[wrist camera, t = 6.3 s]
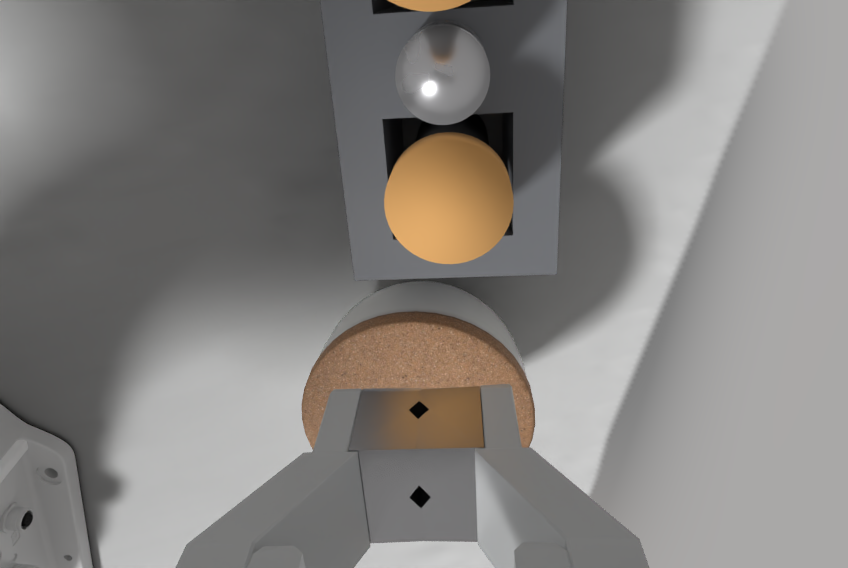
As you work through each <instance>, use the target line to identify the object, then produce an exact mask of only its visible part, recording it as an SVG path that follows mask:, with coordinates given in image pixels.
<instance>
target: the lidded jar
mask: <svg viewBox="0 0 848 568" xmlns="http://www.w3.org/2000/svg"><path fill="white" fill-rule="evenodd" d="M498 384H510V385H511V386H512V390H513V397H514V403H515V409H516V415H517V421H518V427H519V433H520V440H521V446H522V448H529V446H530V443H531V441H532V438H533V432H534V427H535V408H534V402H533V398H532V393H531V388H530V385H529V382H528V380H527V378H526V373H525V369H524V365H523V361H522V358H521V356H520V353H519V351H518V349H517V346H516V344H515V341H514V339H513V337H512V336H511V334H510V333H509V331H508V330H507V328H506V326H505V325H504V323H503V322H502V320H501V319H500V318H499V317H498V316H497V315H496V313H495V312H494V311H493V310H492V309H491V308H490V307H488V306H487V305H486V304H484V303H483V302H482V301H481V300H479V299H478V298H477V297H475V296H473V295H471V294H470V293H468V292H466V291H464V290H462V289H459V288H457V287H454V286H451V285H448V284H443V283H439V282H430V281H412V282H405V283H400V284H395V285H392V286H389V287H387V288H384V289H381V290H379V291H377V292H375V293H373V294H371V295H370V296H368V297H366V298H364V299H363V300H362V301H361V302H359V303H358V304H357V305H356V306H354V307H353V308H352V309H351V310H350V311H349V312H348V313H347V314H346V315H345V317H344V318H343V319H342V320H341V321H340V322H339V323H338V325H337V326H336V328H335V329H334V331H333V332H332V334H331V335H330V337H329V339H328V340H327V342H326V343H325V345H324V348H323V350H322V352H321V354H320V356H319V358H318V360H317V361H316V363H315V364H314V366H313V368H312V370H311V373H310V375H309V378H308V380H307V383H306V386H305V389H304V394H303V400H302V420H303V424H304V429H305V433H306V436H307V438H308V440H309V443H310V445H311V447H312V449H314V445H315V442H316V439H317V435H318V432H319V428H320V425H321V422H322V418H323V415H324V412H325V408H326V405H327V402H328V398H329V395H330V393H331V392H332V391H333V390H334V389H360V388H361V389H362V390H363V389H366V388H421V389H428V388H451V387H474V386H481V385H498Z"/></svg>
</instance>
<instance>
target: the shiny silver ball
mask: <svg viewBox="0 0 848 568" xmlns="http://www.w3.org/2000/svg"><path fill="white" fill-rule="evenodd" d="M395 81H396V87H397V91H398V94H399V96H400V98H401V100H402V102H403V104H404V105H405V106H406V108H407V109H408V110H409V111H410V112H411V113H412V114H413V115H415V116H416V117H417V118H419V119H421V120H423V121H425V122H427V123H431V124H436V125H449V124H454V123H457V122H460V121H462V120H464V119H466V118H468V117H469V116H470V115H472V114H473V113H474V112H475V111H476V110H477V109H478V108H479V107H480V105H481V104H482V102H483V101H484V99H485V97H486V94H487V92H488V88H489V83H490V67H489V62H488V59H487V55H486V52H485V49H484V47H483V44H482V42H481V40H480V39H479V37H478V36H477V35H476V33H475V32H474V31H473V30H472V29H470V28H469V27H468V26H466V25H464V24H462V23H460V22H457V21H453V20H437V21H434V22H431V23H429V24H427V25H425V26H423V27H422V28H421V29H419V30H418V31H417V32H416V33H415V34H414V35H413V37H412V38H411V39H410V40H409V41H408V42H407V43H406V45H405V46H404V48H403V49H402V51H401V53H400V55H399V58H398V60H397V65H396V71H395Z"/></svg>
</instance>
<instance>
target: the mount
mask: <svg viewBox="0 0 848 568" xmlns="http://www.w3.org/2000/svg"><path fill="white" fill-rule="evenodd" d="M320 5H321V13H322V21H323V29H324V37H325V46H326V54H327V62H328V70H329V78H330V86H331V94H332V102H333V110H334V118H335V127H336V135H337V143H338V151H339V159H340V167H341V175H342V183H343V191H344V199H345V208H346V216H347V224H348V232H349V240H350V248H351V256H352V264H353V272H354V280H355V281H361V280H393V279H425V278H458V277H490V276H522V275H554V274H557V256H558V230H559V203H560V176H561V149H562V123H563V96H564V69H565V43H566V16H567V0H471V1H469V2H467V3H465V4H463V5H460V6H458V7H455V8H451V9H448V10H442V11H435V12H426V11H416V10H411V9H407V8H404V7H401V6H398V5H396V4H394V3H392V2H390V1H388V0H320ZM437 20H453V21H457V22H460V23H462V24H464V25H466V26H468V27H469V28H470V29H472V30H473V31H474V32H475V33H476V35H477V36H478V37H479V39H480V40H481V42H482V44H483V47H484V49H485V52H486V55H487V59H488V62H489V67H490V83H489V88H488V92H487V94H486V97H485V99H484V101H483V102H482V104H481V105H480V107H479V108H478V109H477V110H476V111H475V112H474V113H473V114H478V115H479V116H480V118H481V119H482V120H483V122H484V124H485V127H486V130H487V135H488V141H489V146H490V147H491V148H492V149H493V150H494V151H495V152H496V153H497V154H498V156H499V157H500V158H501V160H502V161H503V163H504V165H505V167H506V169H507V172H508V175H509V178H510V183H511V187H512V192H513V200H514V205H513V214H512V218H511V221H510V224H509V227H508V229H507V230H506V232H505V234H504V236H503V237H502V238H501V240H500V241H499V242H498V243H497V244H496V245H495V246H494V247H493V248H492V249H491V250H490V251H488V252H487V253H485V254H484V255H482V256H480V257H478V258H476V259H474V260H471V261H468V262H464V263H459V264H440V263H434V262H430V261H427V260H424V259H422V258H420V257H418V256H416V255H414V254H413V253H411V252H410V251H408V250H407V249H406V248H405V247H404V246H403V245H402V244H401V243H400V242H399V241H398V240H397V239H396V237H395V236H394V234H393V233H392V231H391V229H390V227H389V225H388V222H387V219H386V215H385V209H384V197H385V190H386V186H387V183H388V180H389V177H390V175H391V172H392V170H393V167H394V165H395V163H396V162H397V160H398V158H399V157H400V156H401V155H402V153H403V152H404V151H405V150H406V149H407V148H408V147H409V146H411V145H412V144H413V143H415V142H416V139H417V135H418V132H419V128H420V126H421V123H422V122H423V120H421V119H419V118H417V117H416V116H415V115H413V114H412V113H411V112H410V111H409V110H408V109H407V108H406V106H405V105H404V104H403V102H402V100H401V98H400V96H399V94H398V91H397V87H396V81H395V71H396V65H397V60H398V58H399V55H400V53H401V51H402V49H403V48H404V46H405V45H406V43H407V42H408V41H409V40H410V39H411V38H412V37H413V35H414V34H415V33H416V32H417V31H418V30H419V29H421V28H422V27H423V26H425V25H427V24H429V23H431V22H434V21H437Z"/></svg>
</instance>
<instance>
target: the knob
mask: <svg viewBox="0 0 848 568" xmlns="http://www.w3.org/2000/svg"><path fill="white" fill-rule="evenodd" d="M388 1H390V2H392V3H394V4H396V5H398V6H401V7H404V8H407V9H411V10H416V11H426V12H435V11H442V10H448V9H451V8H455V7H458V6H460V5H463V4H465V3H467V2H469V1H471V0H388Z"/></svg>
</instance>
